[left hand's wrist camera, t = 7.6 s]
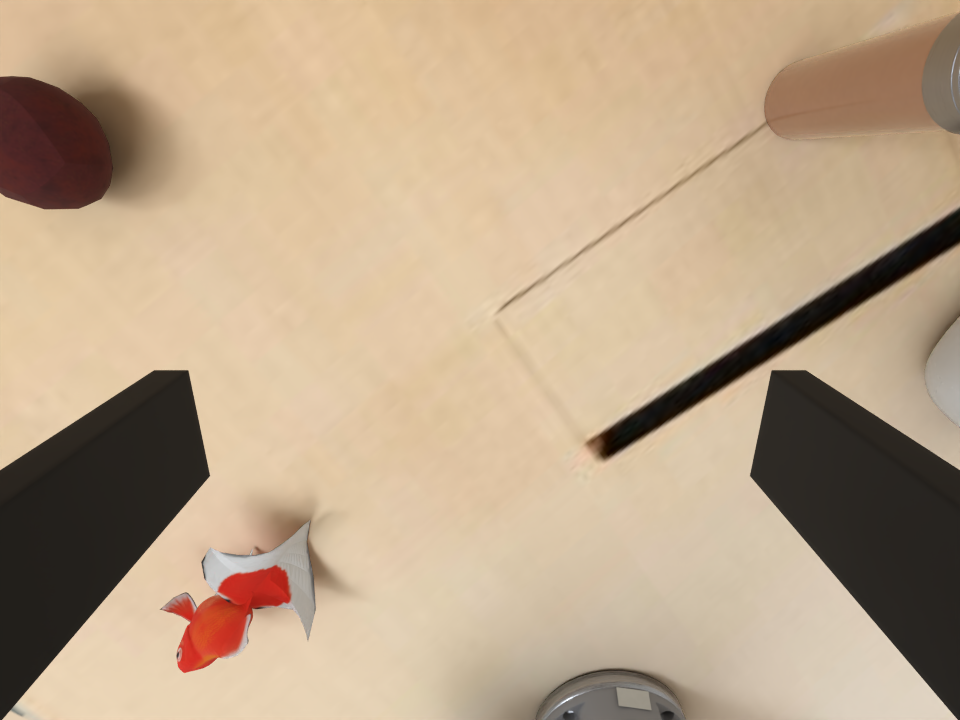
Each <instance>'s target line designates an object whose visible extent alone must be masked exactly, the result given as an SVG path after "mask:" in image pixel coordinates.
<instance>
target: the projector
mask: <svg viewBox="0 0 960 720" xmlns="http://www.w3.org/2000/svg"><path fill="white" fill-rule="evenodd" d="M925 384H926V387H927V390H928V393H929V395H930V397H931V399H932V401H933V402H934V403H935V405H936V406H937V407H938V408H939V409H940V410H941V411H942V412H943V413H944V414H945V415H946V416H947V417H948V418H949V419H950V420H951V421H952V422H953V423H954V424H956V425H957V426H958V427H959V428H960V316H959V317H958V319H957V320H956V321H955V322H954V323H953V324H952V325H951V327H950V328H949V329H948V330H947V331H946V333H945V334H944V335H943V336H942V338H941V339H940V340H939V342H938V343H937V344H936V346H935V348H934V349H933V351H932V353H931V354H930V356H929V358H928V361H927V363H926V367H925Z"/></svg>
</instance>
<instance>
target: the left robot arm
mask: <svg viewBox="0 0 960 720" xmlns="http://www.w3.org/2000/svg"><path fill="white" fill-rule="evenodd" d="M209 476H210V474H209V469H208V464H207V459H206V454H205V449H204V444H203V440H202V435H201V430H200V425H199V420H198V415H197V410H196V406H195V401H194V396H193V391H192V386H191V381H190V376H189V371H188V370H154V371H153V372H151V373H149V374H148V375H146V376H145V377H143V378H142V379H140V380H139V381H137V382H136V383H134V384H133V385H131V386H129V387H128V388H126V389H125V390H123V391H122V392H120V393H119V394H117V395H116V396H114V397H112V398H111V399H109V400H108V401H106V402H105V403H103V404H102V405H100V406H99V407H97V408H96V409H94V410H92V411H91V412H89V413H88V414H86V415H85V416H83V417H82V418H80V419H79V420H77V421H75V422H74V423H72V424H71V425H69V426H68V427H66V428H65V429H63V430H62V431H60V432H59V433H57V434H55V435H54V436H52V437H51V438H49V439H48V440H46V441H45V442H43V443H42V444H40V445H38V446H37V447H35V448H34V449H32V450H31V451H29V452H28V453H26V454H25V455H23V456H22V457H20V458H18V459H17V460H15V461H14V462H12V463H11V464H9V465H8V466H6V467H5V468H3V469H2V470H0V720H2V719H3V718H4V717H5V716H6V715H7V713H8V712H9V711H10V710H11V709H12V708H13V706H14V705H15V704H16V703H17V702H18V700H19V699H20V698H21V697H22V696H23V695H24V693H25V692H26V691H27V690H28V689H29V688H30V686H31V685H32V684H33V683H34V682H35V681H36V679H37V678H38V677H39V676H40V675H41V673H42V672H43V671H44V670H45V669H46V668H47V666H48V665H49V664H50V663H51V662H52V661H53V659H54V658H55V657H56V656H57V655H58V654H59V652H60V651H61V650H62V649H63V648H64V647H65V645H66V644H67V643H68V642H69V641H70V639H71V638H72V637H73V636H74V635H75V634H76V632H77V631H78V630H79V629H80V628H81V627H82V625H83V624H84V623H85V622H86V621H87V620H88V618H89V617H90V616H91V615H92V614H93V612H94V611H95V610H96V609H97V608H98V607H99V605H100V604H101V603H102V602H103V601H104V600H105V598H106V597H107V596H108V595H109V594H110V593H111V591H112V590H113V589H114V588H115V587H116V586H117V584H118V583H119V582H120V581H121V580H122V578H123V577H124V576H125V575H126V574H127V573H128V571H129V570H130V569H131V568H132V567H133V566H134V564H135V563H136V562H137V561H138V560H139V559H140V557H141V556H142V555H143V554H144V553H145V551H146V550H147V549H148V548H149V547H150V546H151V544H152V543H153V542H154V541H155V540H156V539H157V537H158V536H159V535H160V534H161V533H162V532H163V530H164V529H165V528H166V527H167V526H168V524H169V523H170V522H171V521H172V520H173V519H174V517H175V516H176V515H177V514H178V513H179V512H180V510H181V509H182V508H183V507H184V506H185V505H186V503H187V502H188V501H189V500H190V499H191V498H192V496H193V495H194V494H195V493H196V492H197V490H198V489H199V488H200V487H201V486H202V485H203V483H204V482H205V481H206V480H207V479H208V478H209ZM750 476H751V478H752V479H753V480H754V481H755V482H756V483H757V485H758V486H759V487H760V488H761V489H762V490H763V492H764V493H765V494H766V495H767V496H768V498H769V499H770V500H771V501H772V502H773V503H774V505H775V506H776V507H777V508H778V509H779V510H780V512H781V513H782V514H783V515H784V516H785V517H786V519H787V520H788V521H789V522H790V523H791V524H792V526H793V527H794V528H795V529H796V530H797V532H798V533H799V534H800V535H801V536H802V537H803V539H804V540H805V541H806V542H807V543H808V544H809V546H810V547H811V548H812V549H813V550H814V551H815V553H816V554H817V555H818V556H819V557H820V559H821V560H822V561H823V562H824V563H825V564H826V566H827V567H828V568H829V569H830V570H831V571H832V573H833V574H834V575H835V576H836V577H837V578H838V580H839V581H840V582H841V583H842V584H843V586H844V587H845V588H846V589H847V590H848V591H849V593H850V594H851V595H852V596H853V597H854V598H855V600H856V601H857V602H858V603H859V604H860V605H861V607H862V608H863V609H864V610H865V611H866V612H867V614H868V615H869V616H870V617H871V618H872V620H873V621H874V622H875V623H876V624H877V625H878V627H879V628H880V629H881V630H882V631H883V632H884V634H885V635H886V636H887V637H888V638H889V639H890V641H891V642H892V643H893V644H894V645H895V647H896V648H897V649H898V650H899V651H900V652H901V654H902V655H903V656H904V657H905V658H906V659H907V661H908V662H909V663H910V664H911V665H912V666H913V668H914V669H915V670H916V671H917V672H918V673H919V675H920V676H921V677H922V678H923V679H924V681H925V682H926V683H927V684H928V685H929V686H930V688H931V689H932V690H933V691H934V692H935V693H936V695H937V696H938V697H939V698H940V699H941V700H942V702H943V703H944V704H945V705H946V706H947V708H948V709H949V710H950V711H951V712H952V713H953V715H954V716H955V717H956V718H957V719H958V720H960V470H958V469H957V468H955V467H954V466H952V465H951V464H949V463H948V462H946V461H945V460H943V459H942V458H940V457H938V456H937V455H935V454H934V453H932V452H931V451H929V450H928V449H926V448H925V447H923V446H922V445H920V444H918V443H917V442H915V441H914V440H912V439H911V438H909V437H908V436H906V435H905V434H903V433H901V432H900V431H898V430H897V429H895V428H894V427H892V426H891V425H889V424H888V423H886V422H885V421H883V420H881V419H880V418H878V417H877V416H875V415H874V414H872V413H871V412H869V411H868V410H866V409H864V408H863V407H861V406H860V405H858V404H857V403H855V402H854V401H852V400H851V399H849V398H848V397H846V396H844V395H843V394H841V393H840V392H838V391H837V390H835V389H834V388H832V387H831V386H829V385H827V384H826V383H824V382H823V381H821V380H820V379H818V378H817V377H815V376H814V375H812V374H811V373H809V372H807V371H806V370H772V371H771V376H770V381H769V386H768V391H767V396H766V401H765V406H764V410H763V415H762V420H761V425H760V430H759V435H758V440H757V444H756V449H755V454H754V459H753V464H752V469H751V474H750ZM536 720H686V719H685V716H684V714H683V711H682V708H681V705H680V703H679V701H678V699H677V698H676V696H675V695H674V694H673V692H672V691H671V690H670V689H669V688H667V687H666V686H665V685H664V684H662V683H661V682H659V681H657V680H655V679H653V678H651V677H648V676H646V675H642V674H639V673H634V672H628V671H602V672H596V673H591V674H587V675H583V676H580V677H578V678H575V679H573V680H571V681H569V682H567V683H565V684H563V685H562V686H560V687H559V688H557V689H556V690H555V691H553V692H552V693H551V694H550V695H549V696H548V697H547V698H546V699H545V701H544V702H543V704H542V705H541V707H540V709H539V711H538V713H537V716H536Z"/></svg>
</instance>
